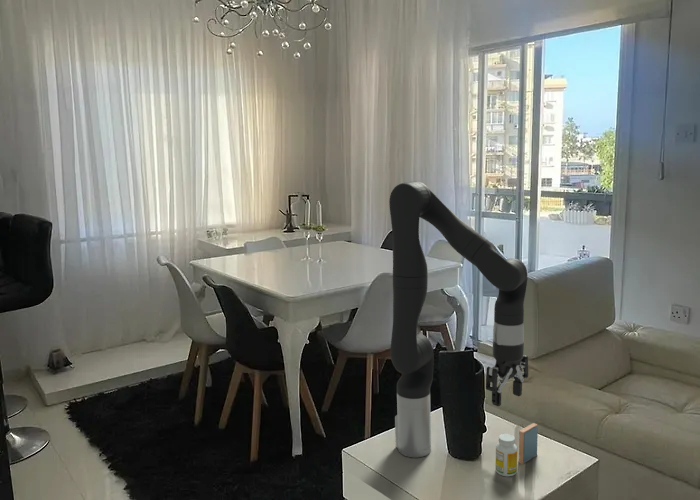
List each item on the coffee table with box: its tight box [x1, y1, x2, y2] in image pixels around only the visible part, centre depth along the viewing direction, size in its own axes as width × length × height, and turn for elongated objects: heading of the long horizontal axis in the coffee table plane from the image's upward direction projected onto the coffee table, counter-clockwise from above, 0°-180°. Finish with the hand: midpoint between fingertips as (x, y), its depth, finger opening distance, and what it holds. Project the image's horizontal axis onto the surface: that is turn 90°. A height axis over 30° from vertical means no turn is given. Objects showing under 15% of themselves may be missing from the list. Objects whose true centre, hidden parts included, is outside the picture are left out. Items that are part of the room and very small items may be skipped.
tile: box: [518, 422, 539, 465], centre depth 155 cm, size 2×6×9 cm, turn 129°
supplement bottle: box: [495, 433, 518, 477], centre depth 150 cm, size 5×5×10 cm
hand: (507, 400), depth 147 cm, fingers open, 8 cm apart
